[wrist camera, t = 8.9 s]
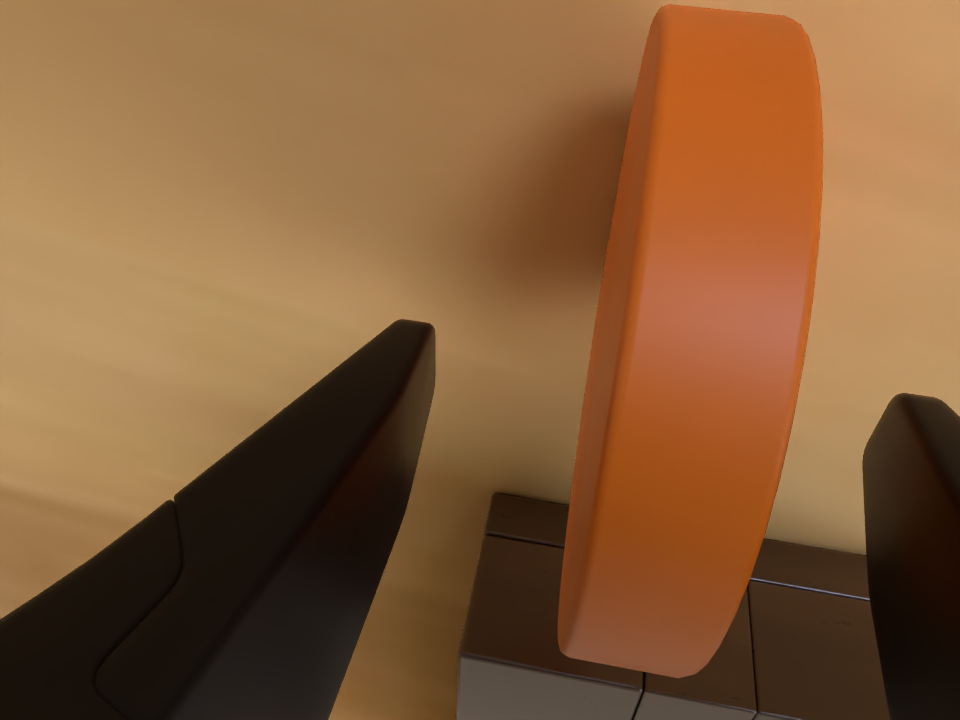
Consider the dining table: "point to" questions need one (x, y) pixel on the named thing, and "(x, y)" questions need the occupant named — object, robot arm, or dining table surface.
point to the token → (694, 340)
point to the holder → (657, 698)
